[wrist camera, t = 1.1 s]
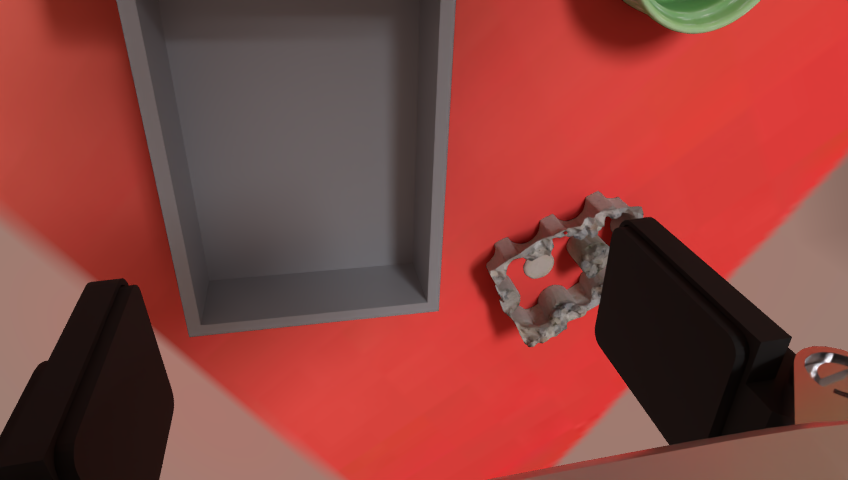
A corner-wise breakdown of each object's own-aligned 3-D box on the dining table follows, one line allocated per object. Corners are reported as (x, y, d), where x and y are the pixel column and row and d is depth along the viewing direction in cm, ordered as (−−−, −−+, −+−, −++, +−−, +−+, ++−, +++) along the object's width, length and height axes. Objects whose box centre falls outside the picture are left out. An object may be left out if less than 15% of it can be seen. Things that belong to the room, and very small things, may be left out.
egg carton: (504, 318, 43) (523, 355, 40) (472, 240, 39) (491, 274, 35) (636, 260, 43) (667, 292, 39) (619, 176, 39) (652, 203, 35)
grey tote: (137, -36, 27) (111, -24, 23) (431, -31, 30) (457, -20, 25) (199, 285, 36) (189, 337, 32) (421, 266, 39) (438, 310, 34)
